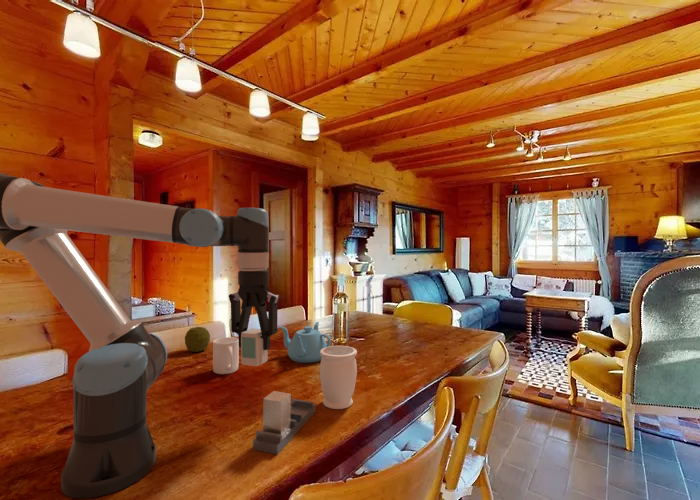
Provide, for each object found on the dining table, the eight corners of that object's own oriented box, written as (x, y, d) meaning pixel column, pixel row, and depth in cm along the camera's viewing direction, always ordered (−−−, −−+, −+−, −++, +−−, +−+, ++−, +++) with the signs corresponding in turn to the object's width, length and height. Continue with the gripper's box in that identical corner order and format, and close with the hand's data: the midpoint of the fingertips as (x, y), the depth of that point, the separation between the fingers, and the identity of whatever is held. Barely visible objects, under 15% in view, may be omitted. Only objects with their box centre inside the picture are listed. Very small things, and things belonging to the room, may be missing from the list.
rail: (277, 454, 73) (277, 407, 73) (253, 449, 75) (253, 403, 75) (315, 411, 92) (315, 374, 92) (294, 408, 94) (295, 372, 94)
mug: (218, 379, 113) (218, 347, 113) (210, 369, 123) (210, 339, 123) (244, 374, 118) (244, 343, 118) (234, 364, 128) (235, 336, 128)
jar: (336, 392, 105) (337, 343, 105) (363, 402, 98) (364, 349, 98) (311, 404, 96) (312, 350, 96) (339, 415, 90) (340, 358, 90)
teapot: (277, 355, 139) (277, 325, 139) (317, 348, 150) (317, 320, 150) (295, 368, 125) (295, 334, 125) (338, 359, 135) (338, 328, 135)
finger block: (256, 366, 84) (256, 334, 84) (240, 365, 85) (240, 333, 85) (266, 360, 89) (266, 329, 88) (251, 358, 90) (251, 328, 90)
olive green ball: (201, 355, 138) (201, 328, 138) (179, 353, 140) (179, 327, 140) (214, 348, 148) (214, 322, 148) (194, 346, 150) (194, 321, 150)
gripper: (291, 269, 88) (292, 359, 88) (233, 268, 93) (234, 353, 93) (277, 271, 81) (278, 369, 81) (214, 270, 86) (215, 362, 86)
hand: (254, 361), depth 87 cm, fingers closed on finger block, 4 cm apart
